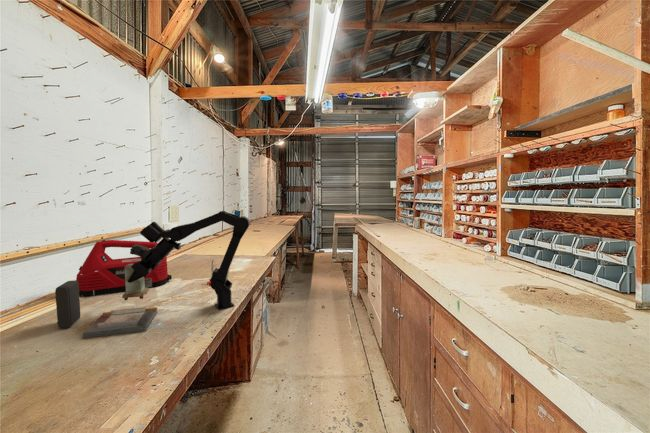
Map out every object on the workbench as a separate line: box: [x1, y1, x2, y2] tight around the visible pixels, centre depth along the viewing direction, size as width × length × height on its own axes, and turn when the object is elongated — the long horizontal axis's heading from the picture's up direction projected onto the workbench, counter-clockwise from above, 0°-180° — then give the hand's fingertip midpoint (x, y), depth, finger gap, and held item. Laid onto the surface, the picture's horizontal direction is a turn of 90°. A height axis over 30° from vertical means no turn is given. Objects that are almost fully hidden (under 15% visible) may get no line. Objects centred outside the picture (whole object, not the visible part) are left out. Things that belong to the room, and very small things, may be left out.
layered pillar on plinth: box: [121, 264, 150, 301], centre depth 113 cm, size 7×7×13 cm
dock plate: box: [81, 306, 158, 340], centre depth 103 cm, size 18×16×4 cm
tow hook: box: [206, 259, 215, 285], centre depth 150 cm, size 8×13×9 cm
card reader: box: [54, 279, 81, 330], centre depth 103 cm, size 9×4×15 cm, turn 21°
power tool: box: [76, 239, 172, 298], centre depth 143 cm, size 16×40×25 cm, turn 123°
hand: (131, 280), depth 113 cm, fingers closed on layered pillar on plinth, 5 cm apart
